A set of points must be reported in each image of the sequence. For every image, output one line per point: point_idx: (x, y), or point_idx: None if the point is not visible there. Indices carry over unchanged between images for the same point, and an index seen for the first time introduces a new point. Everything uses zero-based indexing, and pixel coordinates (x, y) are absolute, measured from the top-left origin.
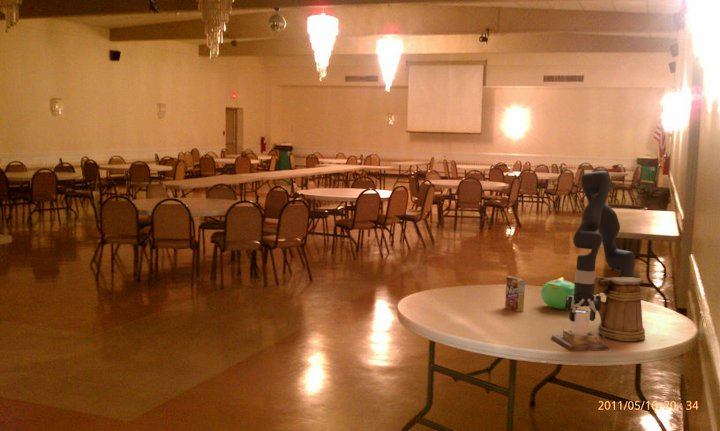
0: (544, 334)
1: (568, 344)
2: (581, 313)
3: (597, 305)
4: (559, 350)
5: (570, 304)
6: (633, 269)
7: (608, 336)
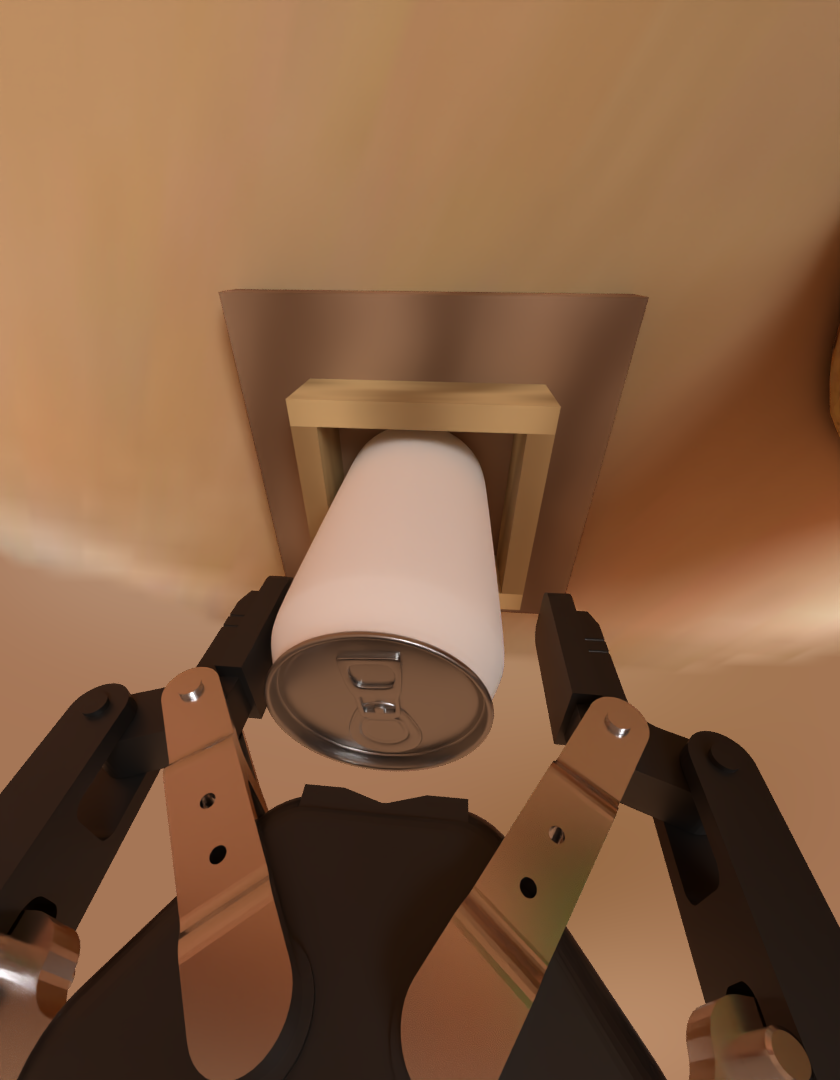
0: (183, 83)
1: (290, 561)
2: (343, 749)
3: (676, 877)
4: (230, 572)
5: (94, 865)
6: None
7: (835, 372)
